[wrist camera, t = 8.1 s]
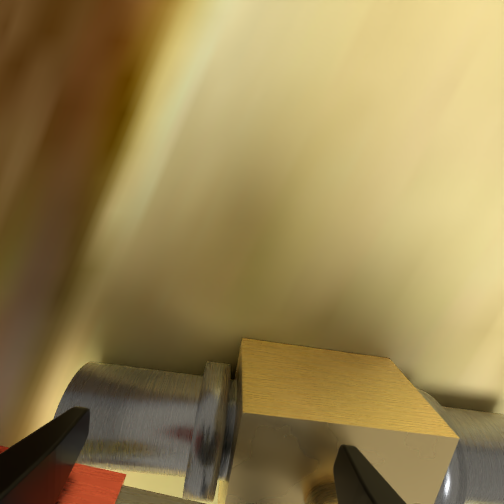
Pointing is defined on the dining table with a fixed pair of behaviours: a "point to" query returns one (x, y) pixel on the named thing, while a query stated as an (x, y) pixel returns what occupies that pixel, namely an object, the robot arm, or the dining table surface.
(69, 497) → the lever
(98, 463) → the valve
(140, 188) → the dining table surface
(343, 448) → the robot arm
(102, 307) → the dining table surface
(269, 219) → the dining table surface
